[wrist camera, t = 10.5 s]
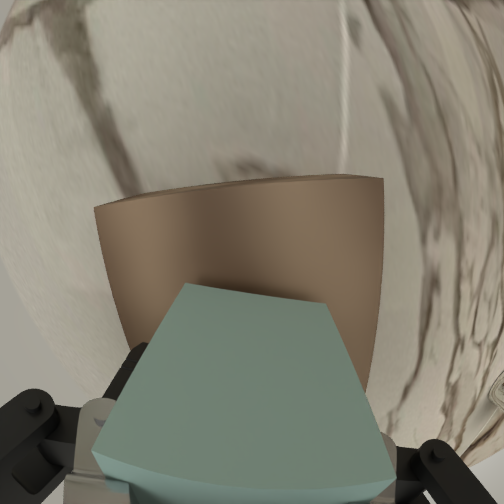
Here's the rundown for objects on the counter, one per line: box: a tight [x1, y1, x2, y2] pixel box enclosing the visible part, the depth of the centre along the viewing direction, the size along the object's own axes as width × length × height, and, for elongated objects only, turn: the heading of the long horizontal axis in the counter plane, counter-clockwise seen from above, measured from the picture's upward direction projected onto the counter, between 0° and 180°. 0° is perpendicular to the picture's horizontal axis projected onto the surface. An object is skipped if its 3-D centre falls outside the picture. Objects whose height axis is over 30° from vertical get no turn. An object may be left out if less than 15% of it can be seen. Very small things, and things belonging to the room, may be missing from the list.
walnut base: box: [94, 174, 384, 392], centre depth 15 cm, size 12×12×6 cm
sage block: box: [91, 283, 397, 504], centre depth 7 cm, size 5×5×7 cm
